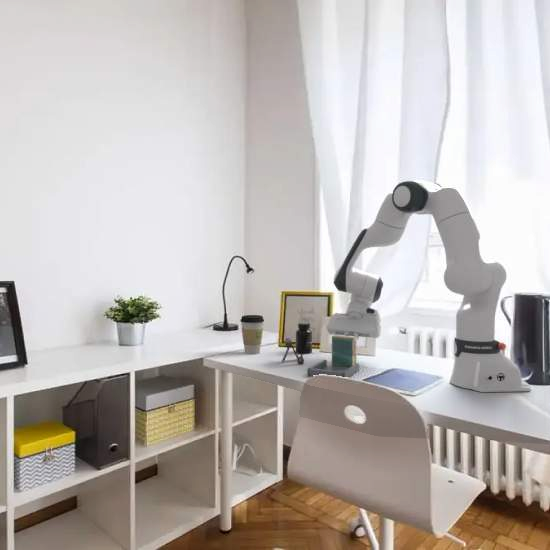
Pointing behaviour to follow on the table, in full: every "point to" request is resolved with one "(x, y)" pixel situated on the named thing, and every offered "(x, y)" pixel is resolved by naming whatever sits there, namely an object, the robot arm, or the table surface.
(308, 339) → the supplement bottle
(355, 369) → the tray
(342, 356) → the green tan block
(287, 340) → the portable electronic device stand
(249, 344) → the coffee cup
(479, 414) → the table surface
